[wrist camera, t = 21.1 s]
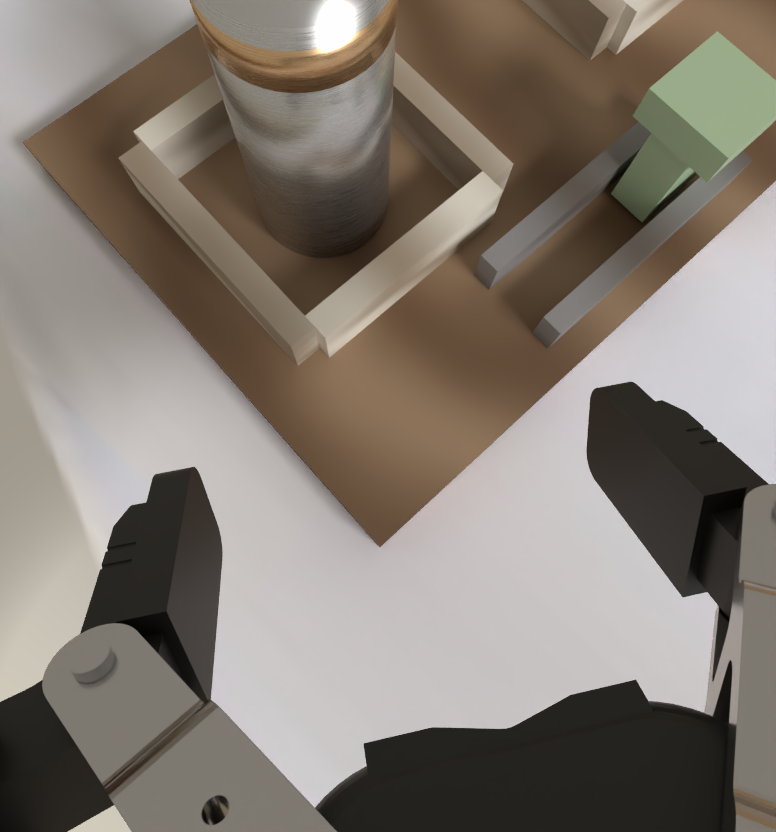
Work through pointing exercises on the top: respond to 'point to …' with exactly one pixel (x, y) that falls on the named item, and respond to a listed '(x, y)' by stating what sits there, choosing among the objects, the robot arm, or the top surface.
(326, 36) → the cylinder
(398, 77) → the pallet
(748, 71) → the green notched block
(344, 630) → the top surface
